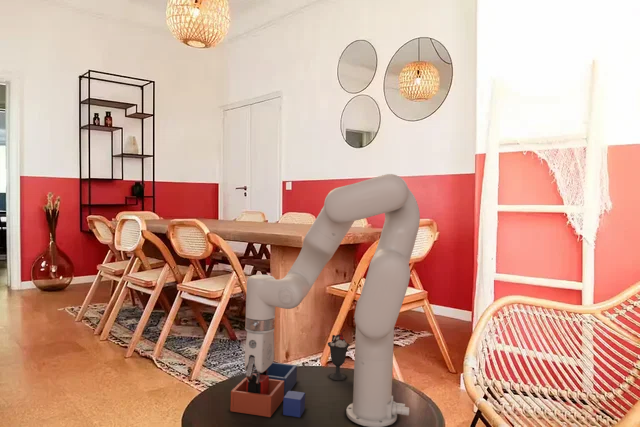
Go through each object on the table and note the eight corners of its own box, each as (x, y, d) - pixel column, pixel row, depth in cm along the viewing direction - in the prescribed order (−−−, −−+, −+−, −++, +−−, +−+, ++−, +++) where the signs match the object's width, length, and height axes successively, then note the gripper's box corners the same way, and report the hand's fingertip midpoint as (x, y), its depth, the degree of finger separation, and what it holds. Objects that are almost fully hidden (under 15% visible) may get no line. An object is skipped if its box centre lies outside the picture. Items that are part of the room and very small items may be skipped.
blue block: (304, 409, 119) (305, 392, 119) (299, 417, 115) (300, 399, 115) (288, 407, 120) (288, 390, 120) (282, 414, 116) (283, 397, 116)
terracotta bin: (283, 399, 125) (284, 380, 125) (270, 417, 115) (271, 396, 114) (246, 394, 127) (247, 375, 127) (230, 411, 117) (230, 391, 117)
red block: (268, 392, 123) (268, 375, 122) (262, 399, 118) (263, 381, 118) (252, 389, 124) (253, 373, 123) (246, 396, 119) (246, 379, 119)
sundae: (347, 382, 138) (348, 332, 137) (324, 380, 139) (326, 330, 138) (350, 374, 144) (351, 326, 144) (328, 372, 145) (330, 324, 145)
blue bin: (296, 382, 137) (297, 365, 136) (285, 397, 126) (286, 378, 126) (262, 378, 139) (262, 361, 139) (248, 392, 129) (249, 373, 129)
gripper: (262, 334, 111) (259, 410, 112) (284, 317, 128) (281, 383, 128) (232, 330, 113) (230, 405, 114) (258, 314, 129) (255, 379, 130)
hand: (257, 393), depth 121 cm, fingers closed on red block, 4 cm apart
